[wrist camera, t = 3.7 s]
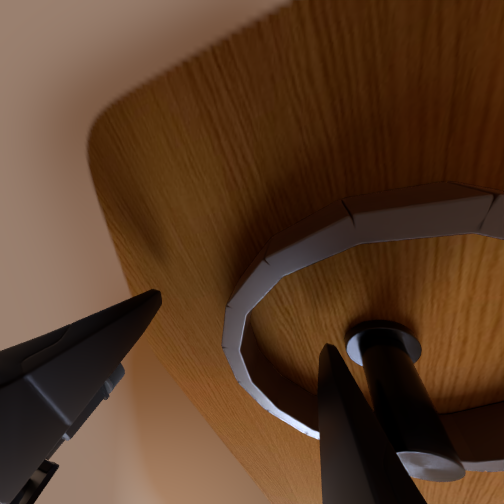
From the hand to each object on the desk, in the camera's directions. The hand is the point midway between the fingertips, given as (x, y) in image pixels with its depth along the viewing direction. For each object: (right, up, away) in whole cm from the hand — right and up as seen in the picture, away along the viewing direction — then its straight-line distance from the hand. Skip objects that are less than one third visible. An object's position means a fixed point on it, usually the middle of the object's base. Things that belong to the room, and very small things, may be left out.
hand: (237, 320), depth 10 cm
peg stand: (+7, -1, 0) cm, 7 cm away
